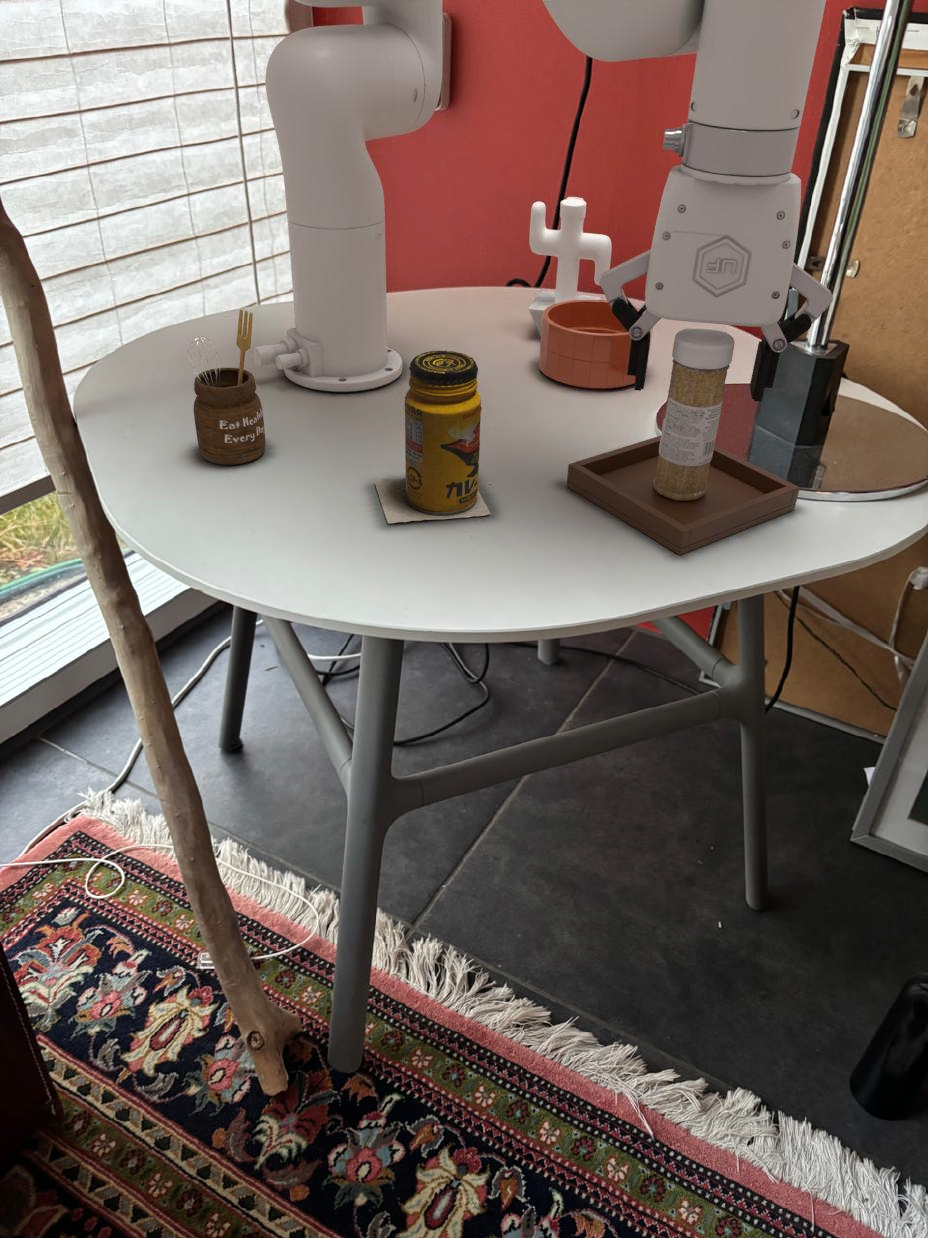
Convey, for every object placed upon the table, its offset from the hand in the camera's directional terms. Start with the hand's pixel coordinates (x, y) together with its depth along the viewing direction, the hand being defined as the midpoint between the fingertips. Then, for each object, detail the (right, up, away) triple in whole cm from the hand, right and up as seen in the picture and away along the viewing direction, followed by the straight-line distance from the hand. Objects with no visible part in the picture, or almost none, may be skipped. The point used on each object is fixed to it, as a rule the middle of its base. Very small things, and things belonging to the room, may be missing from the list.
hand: (696, 388), depth 77 cm
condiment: (-21, -8, +4) cm, 23 cm away
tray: (0, -8, +6) cm, 10 cm away
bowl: (-5, +9, +29) cm, 31 cm away
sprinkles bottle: (0, -8, +5) cm, 9 cm away
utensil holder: (-39, -3, +11) cm, 41 cm away
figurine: (-7, +16, +39) cm, 42 cm away
